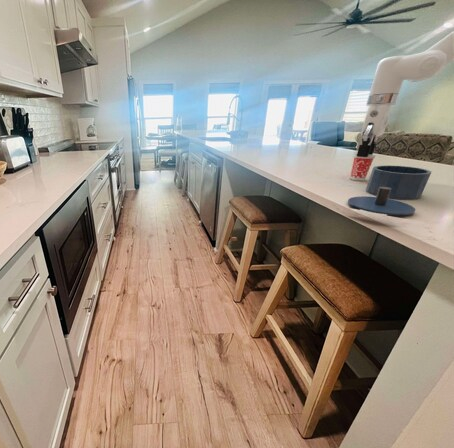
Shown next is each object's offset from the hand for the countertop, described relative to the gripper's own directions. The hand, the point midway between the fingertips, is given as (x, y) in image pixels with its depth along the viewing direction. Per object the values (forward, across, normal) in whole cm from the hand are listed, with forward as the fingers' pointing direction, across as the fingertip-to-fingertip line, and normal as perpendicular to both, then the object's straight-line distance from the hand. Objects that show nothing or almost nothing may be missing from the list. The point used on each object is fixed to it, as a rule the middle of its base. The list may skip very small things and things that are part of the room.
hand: (364, 155), depth 88 cm
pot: (+9, -14, -12) cm, 21 cm away
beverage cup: (+9, 0, 0) cm, 9 cm away
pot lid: (+8, -32, -12) cm, 35 cm away
